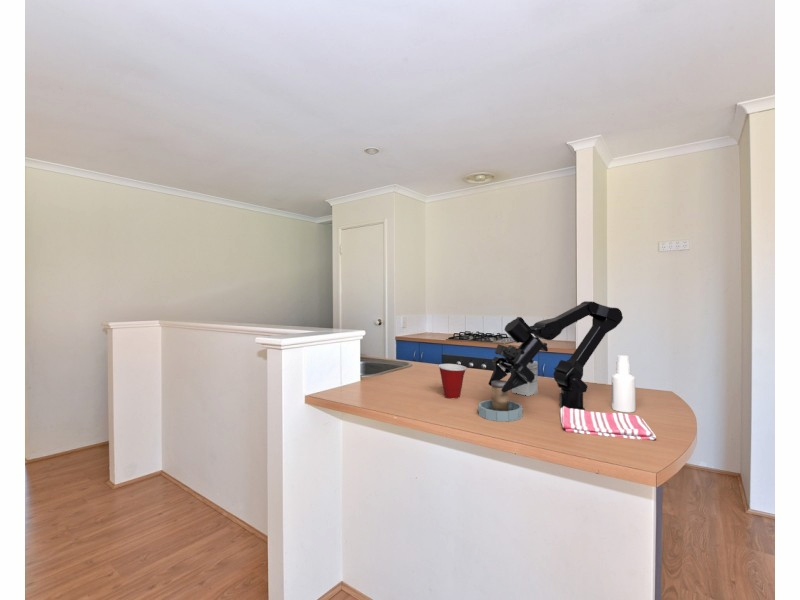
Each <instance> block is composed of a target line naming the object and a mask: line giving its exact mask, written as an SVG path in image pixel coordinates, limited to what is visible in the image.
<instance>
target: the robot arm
mask: <svg viewBox="0 0 800 600" xmlns="http://www.w3.org/2000/svg"><path fill="white" fill-rule="evenodd" d="M588 316H590V317H591V318H592V323H591V324H592V325H591V327H590V328H589V330H588V331H587V333H586V335H585V336H584V337H583V339H582V340H581V342H580V343H579V344H578V346H577V348H576V349H575V350H574V352H573V353H572V355H571V357H569V359H567V360H563V359H560V360H559V362H558V364H557V366H556V367H554V368H553V369H554V372H553V379H554V381H555V382H556V384H557V387H558V388H559V389H560V388H561V389H560V393H559V406H561V408H563V406H565V407H567V408H569V409H571V408H573V409H579V410H585V411H586V409H585V407H584V393H586V392H587V390H588V387H589V386H588V384H586V382H584V381H583V380H582V378H583V376H584V366H585V365H586V364H587V362H588V360H589V359H590V357H591V356H592V355H593V354H594V352H595V351H596V349H597V348H598V346H599V345H600V343H601V341H603V339H604V337H605V336H606V335H607V334H608V333H609V332H610V331H612V330H614V329H616V328H617V327H618V325H620V324H621V322H622V321H623V318H624V317H623V313H622V310H621V309H620V308H619V307H609V306H606V305H602V304H600V303H598V302H595V301H590V300H589V301H586V300H585V301H582V302H581V303H580V304H578V305H576V306H574V307H572V308H570V309H569V310H567V311H565V312H563V313H560V314H559V315H557V316H554V317H552V318H546V319H544V320H539V321H537V322H535V323H534V324H533V325H529V324H528V323H527V322H526V321H525V320H524V318H523V317H522V316H517V317H516V318H514V319H513V320H511V321H509V322H508V323H507V324H506V325H505V326H504V331H505V333H506V334H508V336H510V338H512V340H513V341H514V342H515V343H517V344H518V343H521V344H520V345H519V346H518V347H516V346H514V345H511V344H509V345H508V346H505V345H502V344H499V343H497V346H496V349H495V350H494V351H495V352H494V354H495V355H497V356H494V357H493V358H492V360H491V361H492V365H493V372H492V374H491V376H490V379H489V381H488V385H489V386H491V381H494V380H502V379H505V378H506V377H507V376H508V374H509V373H510V376H509V378H508V379H507V380H506V381H507V382H506V383H505V385H504V386H503V388H502V390H501V391H502V392H506V391H508V392H509V391H512V389H513V388H516V387H518V386H521V385H523V384H527V383H528V382H529V383H532V381H533V380H534V379H535V374H534V373H533V372H532V371H531V370H530V369H529V368H528V367H527V365H528V364H529V363H531V364H532V363H533V362H534V361H535V360H533V359H534V358H535V357H536V356H537V354H538V353H539V352H540V351H543V352H548V351H549V349H548V343H546V342H543V341H541V340H546V341H552V340H554V339H555V338H557V336H560V334H561V333H562V332H563V330H564V329H565V328H568V327H569V326H570V325H573V324H575V323H577V322H579V321H580V320H582V319H583V318H586V317H588ZM491 387H492V386H491Z"/></svg>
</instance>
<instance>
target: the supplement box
mask: <svg viewBox="0 0 800 600" xmlns="http://www.w3.org/2000/svg"><path fill="white" fill-rule="evenodd" d="M533 361H534V362H533V363H532V364H531V363H529V364H528V365H527V367H528V368H529V369H530V370H531V371H532V372H533V373H534V374H535V379H534V380H533V381H532V383H529V382H528V383H527V384H523V385H521V386H518V387H516V388H513V389H511V393H512V394H516V393H517V395H522V396H525V395H526V397H530V395H531V396H534V395H536V394H538V392H539V391H538V389H539V388H538V378H539V377H538V376H539V375H538V374H539V371H538V370H539V369H538V366H539V365H538V363H539V362H538V361H537V360H533ZM533 394H534V395H533Z"/></svg>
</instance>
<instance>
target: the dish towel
mask: <svg viewBox="0 0 800 600" xmlns="http://www.w3.org/2000/svg"><path fill="white" fill-rule="evenodd" d="M560 421H561V425H562V426H561V427H562V428H563V429H565V432H566V433H574V434H579V433H581V434H580V435H587V434H590V435H591V436H599V435H600V436H601V437H608V436H609V438H610V437H611V438H620V437H622V438H624V439H628V440H629V439H631V440H640V439H641V440H642V441H646V440H647V441H654V440H656V439H657V436H656V434H655V433H654V431H652V429H651V428H650V426H649V425H648V424H647V422H646V421H645V420H644V419H643V417H641V416H639V415H636V414H635V415H634V414H630V413H625V412H600V411H599V412H597V411H587V410H586V409H585V410H579V409H573V408H571V409H569V408H567V407H565V406H563V408H562V407H561V408H560ZM590 435H589V436H590ZM622 438H621V439H622Z"/></svg>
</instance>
